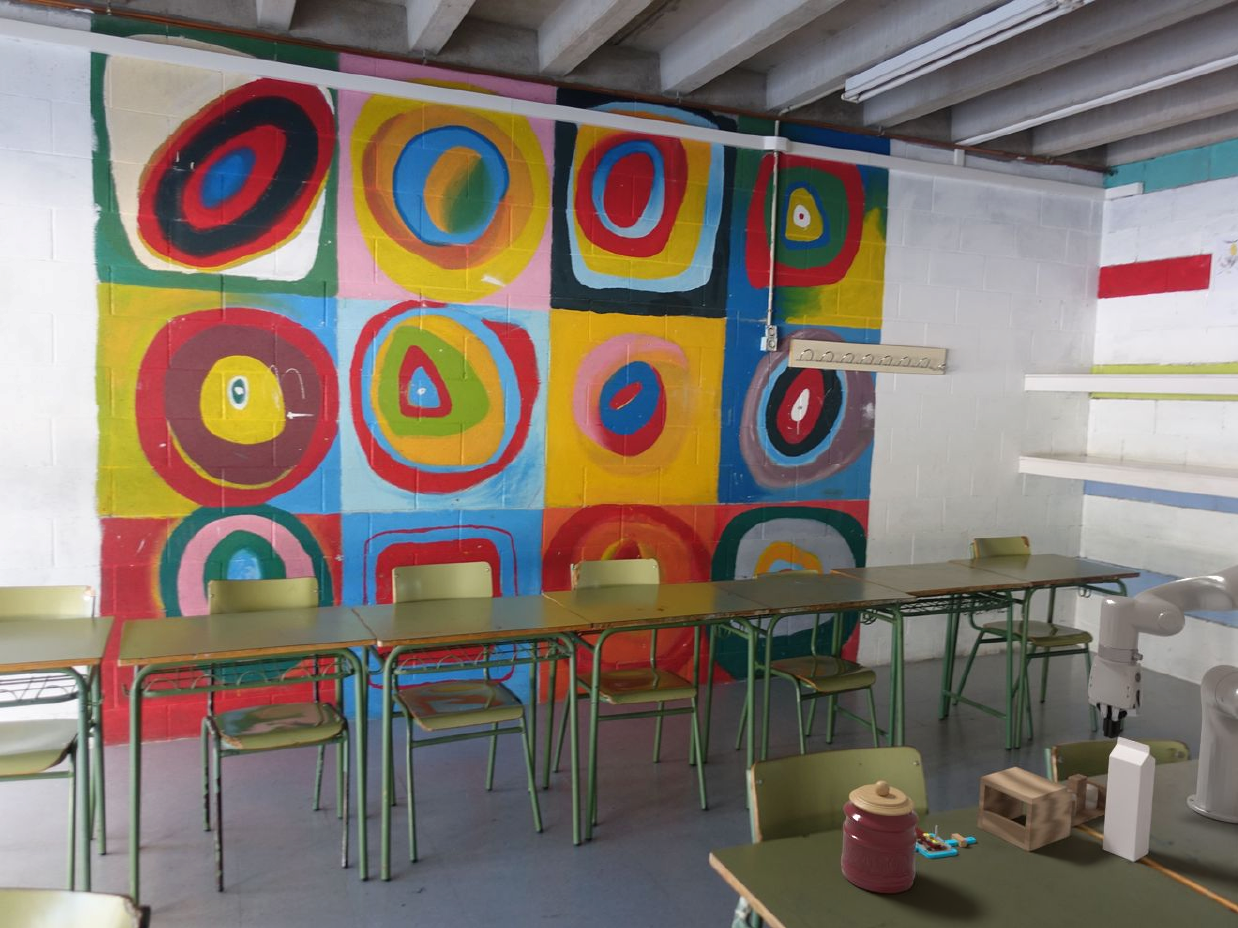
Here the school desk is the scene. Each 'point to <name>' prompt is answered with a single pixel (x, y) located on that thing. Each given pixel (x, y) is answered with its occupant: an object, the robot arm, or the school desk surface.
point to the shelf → (1006, 801)
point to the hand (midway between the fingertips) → (1111, 736)
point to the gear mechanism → (939, 844)
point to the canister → (879, 839)
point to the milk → (1129, 800)
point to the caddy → (1086, 799)
